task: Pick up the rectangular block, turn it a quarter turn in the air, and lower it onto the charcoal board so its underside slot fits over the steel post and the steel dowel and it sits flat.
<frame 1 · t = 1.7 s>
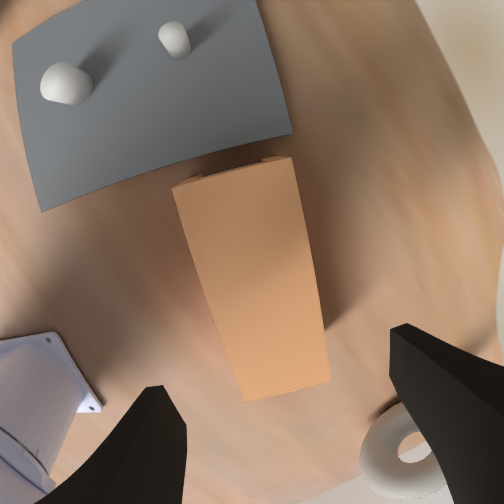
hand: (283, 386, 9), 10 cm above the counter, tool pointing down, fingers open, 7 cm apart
post board: (131, 71, 14), on the counter
rectangular block: (256, 267, 18), on the counter
donut: (393, 407, 24), on the counter
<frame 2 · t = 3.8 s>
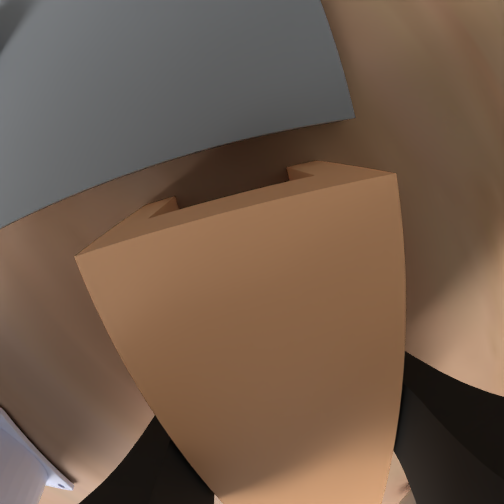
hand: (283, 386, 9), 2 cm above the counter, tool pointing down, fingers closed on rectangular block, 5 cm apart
post board: (60, 21, 6), on the counter
rectangular block: (275, 354, 10), on the counter, touching gripper
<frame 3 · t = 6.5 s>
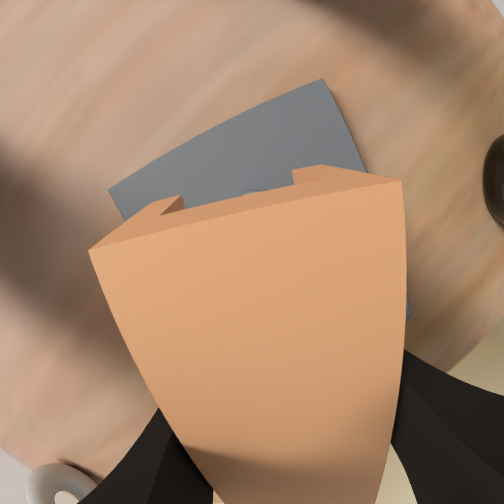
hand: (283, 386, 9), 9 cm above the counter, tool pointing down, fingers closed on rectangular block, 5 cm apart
post board: (278, 255, 17), on the counter
rectangular block: (274, 353, 11), point 7 cm above the counter, touching gripper
donut: (79, 469, 24), on the counter
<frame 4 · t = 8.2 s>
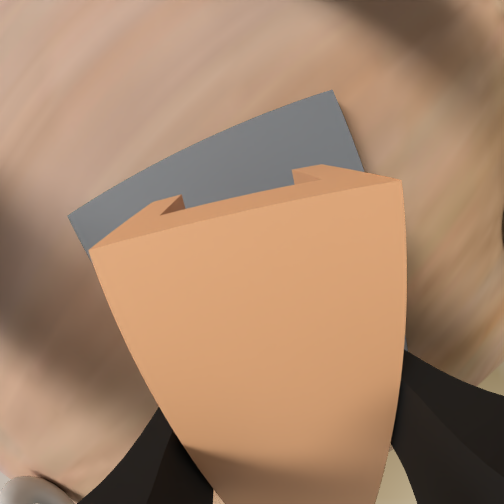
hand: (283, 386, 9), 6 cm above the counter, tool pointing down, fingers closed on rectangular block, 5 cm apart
post board: (264, 299, 14), on the counter
rectangular block: (274, 353, 11), point 4 cm above the counter, touching gripper
donut: (53, 483, 21), on the counter
when the fingers open (3 cm above the counter, at t = 9.5 s): rectangular block stays where it is, resting on post board.
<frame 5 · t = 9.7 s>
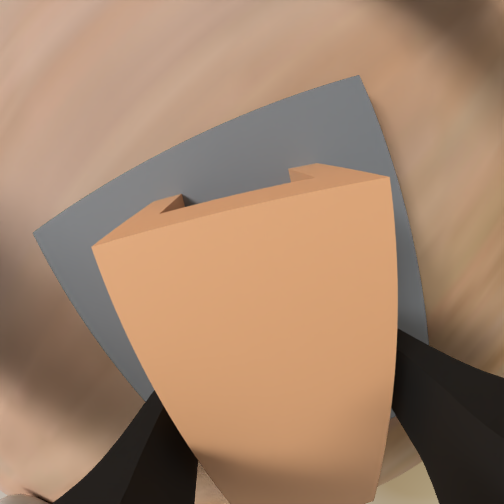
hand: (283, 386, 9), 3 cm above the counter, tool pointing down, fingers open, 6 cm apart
post board: (271, 332, 12), on the counter
rectangular block: (274, 348, 11), point 1 cm above the counter, touching post board
donut: (47, 501, 18), on the counter
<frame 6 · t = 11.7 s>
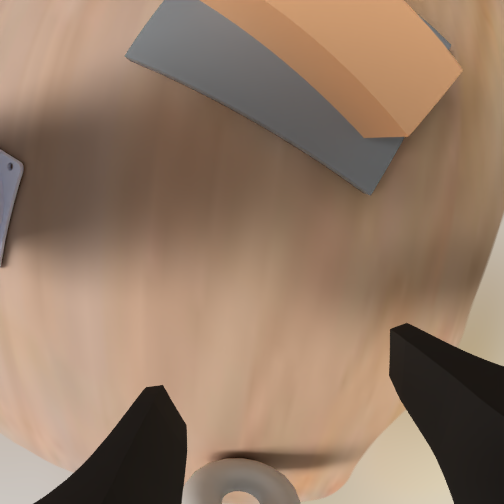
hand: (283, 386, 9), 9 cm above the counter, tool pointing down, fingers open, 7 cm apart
post board: (305, 34, 14), on the counter
rectangular block: (310, 29, 13), point 1 cm above the counter, touching post board
donut: (239, 459, 24), on the counter
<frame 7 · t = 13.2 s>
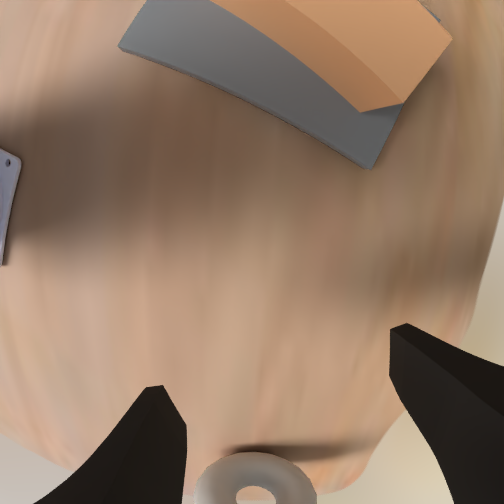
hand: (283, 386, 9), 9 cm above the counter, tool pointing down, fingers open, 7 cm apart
post board: (295, 16, 13), on the counter
rectangular block: (299, 10, 12), point 1 cm above the counter, touching post board
donut: (252, 453, 24), on the counter
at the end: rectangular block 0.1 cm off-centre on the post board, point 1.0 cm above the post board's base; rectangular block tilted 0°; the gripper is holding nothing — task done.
